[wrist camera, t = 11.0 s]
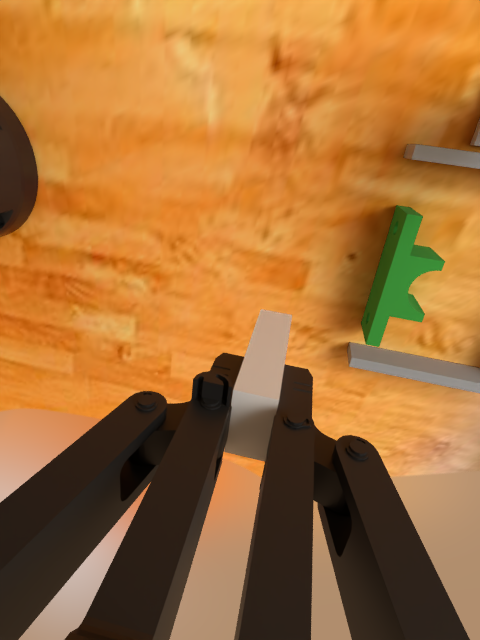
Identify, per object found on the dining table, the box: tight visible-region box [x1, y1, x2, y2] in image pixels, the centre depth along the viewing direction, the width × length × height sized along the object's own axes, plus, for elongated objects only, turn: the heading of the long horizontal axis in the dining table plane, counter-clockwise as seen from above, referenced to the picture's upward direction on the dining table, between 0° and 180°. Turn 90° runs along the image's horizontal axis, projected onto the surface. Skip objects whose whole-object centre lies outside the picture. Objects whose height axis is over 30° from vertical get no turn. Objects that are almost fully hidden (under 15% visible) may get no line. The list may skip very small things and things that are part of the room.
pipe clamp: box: [361, 205, 445, 347], centre depth 32 cm, size 11×4×5 cm, turn 172°
